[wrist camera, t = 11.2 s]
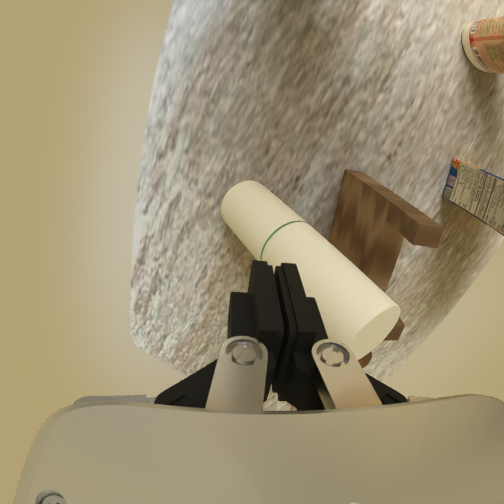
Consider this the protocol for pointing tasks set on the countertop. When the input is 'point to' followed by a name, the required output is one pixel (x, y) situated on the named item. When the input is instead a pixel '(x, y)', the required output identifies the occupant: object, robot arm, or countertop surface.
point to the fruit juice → (485, 44)
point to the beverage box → (476, 193)
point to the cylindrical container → (312, 266)
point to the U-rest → (378, 230)
